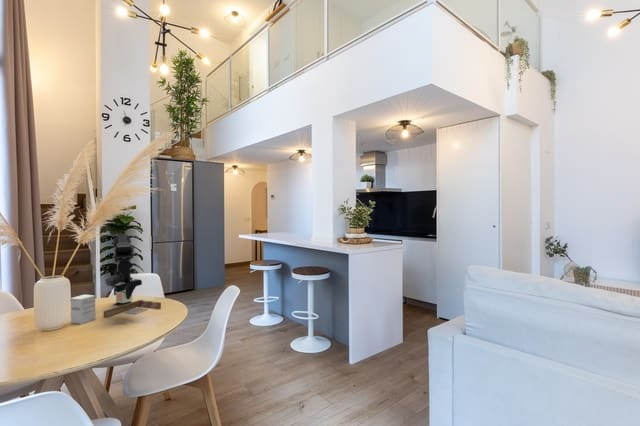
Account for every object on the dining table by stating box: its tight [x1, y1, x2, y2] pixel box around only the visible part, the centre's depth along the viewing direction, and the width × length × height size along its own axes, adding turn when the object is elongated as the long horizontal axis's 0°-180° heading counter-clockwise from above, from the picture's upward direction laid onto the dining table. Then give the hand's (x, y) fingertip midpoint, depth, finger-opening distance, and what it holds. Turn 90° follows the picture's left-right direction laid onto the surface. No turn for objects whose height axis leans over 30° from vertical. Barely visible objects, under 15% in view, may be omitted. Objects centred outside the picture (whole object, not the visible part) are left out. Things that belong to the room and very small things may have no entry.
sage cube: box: [115, 290, 133, 303], centre depth 159 cm, size 5×5×5 cm
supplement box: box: [70, 294, 96, 325], centre depth 156 cm, size 7×7×13 cm
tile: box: [123, 307, 149, 315], centre depth 170 cm, size 8×8×1 cm
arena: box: [103, 299, 162, 319], centre depth 168 cm, size 16×22×4 cm
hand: (124, 298), depth 159 cm, fingers closed on sage cube, 5 cm apart
